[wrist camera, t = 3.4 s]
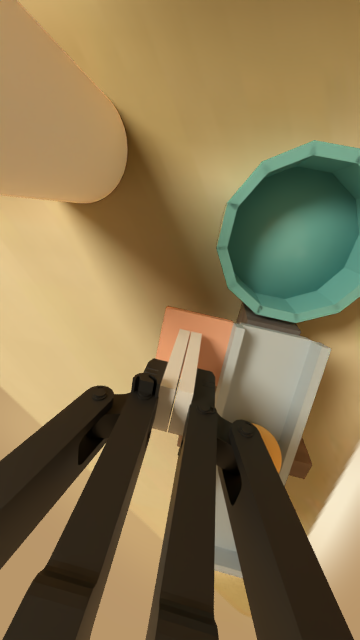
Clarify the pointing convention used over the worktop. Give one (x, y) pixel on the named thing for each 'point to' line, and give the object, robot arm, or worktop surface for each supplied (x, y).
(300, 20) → the worktop surface
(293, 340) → the lever
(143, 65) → the worktop surface
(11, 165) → the cup
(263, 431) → the ball
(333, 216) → the dish
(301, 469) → the stand
